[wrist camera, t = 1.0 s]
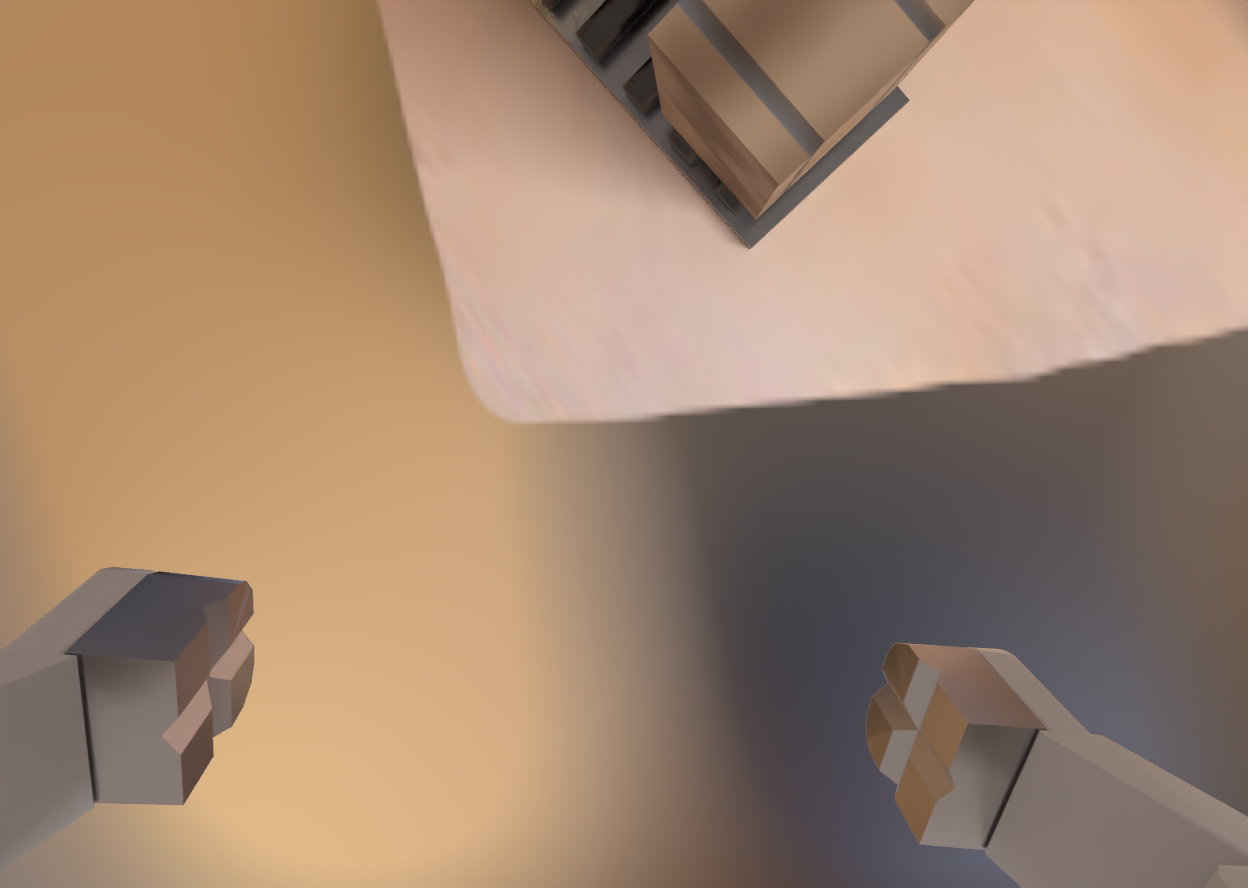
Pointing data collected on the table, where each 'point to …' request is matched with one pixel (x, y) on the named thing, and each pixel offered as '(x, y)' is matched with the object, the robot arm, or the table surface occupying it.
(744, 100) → the crate
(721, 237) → the table surface
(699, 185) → the roller track
